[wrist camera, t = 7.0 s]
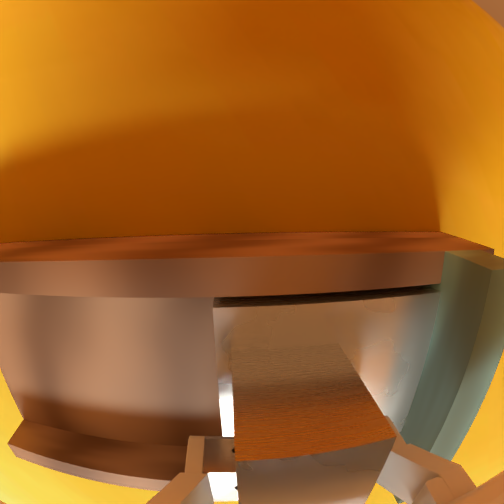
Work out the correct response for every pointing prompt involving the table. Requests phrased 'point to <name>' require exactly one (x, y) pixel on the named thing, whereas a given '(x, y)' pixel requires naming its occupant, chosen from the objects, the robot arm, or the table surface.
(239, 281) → the drawer
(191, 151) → the table surface
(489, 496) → the robot arm
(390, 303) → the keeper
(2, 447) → the table surface
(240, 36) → the table surface
